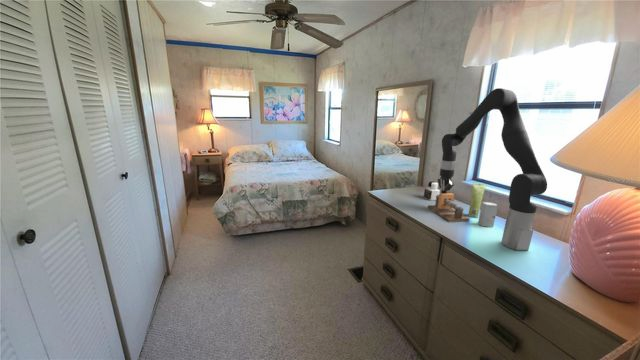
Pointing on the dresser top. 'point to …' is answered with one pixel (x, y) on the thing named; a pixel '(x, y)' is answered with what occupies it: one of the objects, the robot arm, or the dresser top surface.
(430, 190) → the medicine bottle
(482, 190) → the tube
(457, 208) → the pipe stand
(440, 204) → the collar
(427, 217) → the dresser top surface
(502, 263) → the dresser top surface
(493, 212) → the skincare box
